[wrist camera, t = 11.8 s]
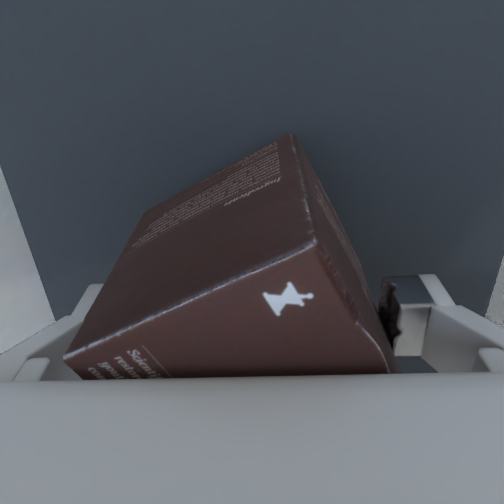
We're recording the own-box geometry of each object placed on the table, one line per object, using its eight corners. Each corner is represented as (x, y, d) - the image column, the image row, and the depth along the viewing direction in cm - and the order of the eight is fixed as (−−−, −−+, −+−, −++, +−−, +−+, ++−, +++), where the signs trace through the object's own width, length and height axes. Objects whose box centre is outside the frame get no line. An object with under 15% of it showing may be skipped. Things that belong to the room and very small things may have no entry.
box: (140, 207, 15) (48, 356, 9) (295, 125, 13) (320, 233, 7) (227, 326, 18) (206, 507, 11) (365, 269, 16) (430, 443, 10)
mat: (588, -65, 13) (602, -68, 12) (462, 367, 22) (467, 375, 21) (-59, -32, 13) (-72, -33, 13) (81, 373, 23) (76, 382, 22)
